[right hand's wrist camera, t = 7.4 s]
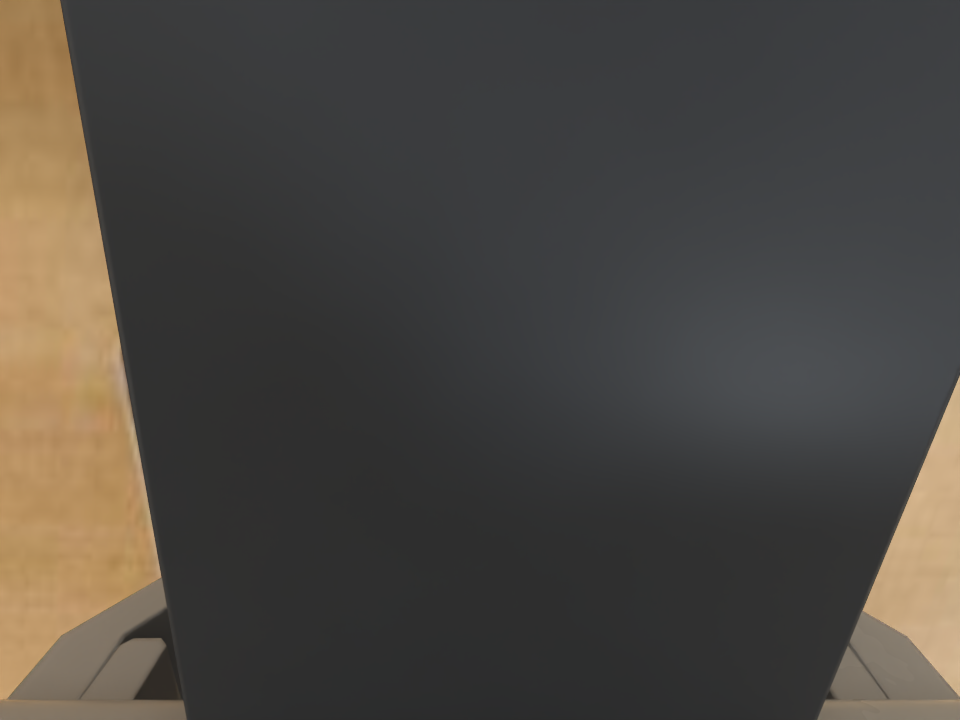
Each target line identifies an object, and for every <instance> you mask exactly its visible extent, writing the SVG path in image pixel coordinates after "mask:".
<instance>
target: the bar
mask: <svg viewBox="0 0 960 720" xmlns="http://www.w3.org/2000/svg"><path fill="white" fill-rule="evenodd" d="M60 1H61V7H62V12H63V18H64V24H65V30H66V35H67V41H68V47H69V52H70V58H71V64H72V69H73V75H74V81H75V87H76V92H77V98H78V104H79V109H80V115H81V121H82V126H83V132H84V138H85V143H86V149H87V155H88V161H89V166H90V172H91V178H92V183H93V189H94V195H95V200H96V206H97V212H98V218H99V223H100V229H101V235H102V240H103V246H104V252H105V257H106V263H107V269H108V274H109V280H110V286H111V292H112V297H113V303H114V309H115V314H116V320H117V326H118V331H119V337H120V343H121V348H122V354H123V360H124V366H125V371H126V377H127V383H128V388H129V394H130V400H131V405H132V411H133V417H134V423H135V428H136V434H137V440H138V445H139V451H140V457H141V462H142V468H143V474H144V479H145V485H146V491H147V497H148V502H149V508H150V514H151V519H152V525H153V531H154V536H155V542H156V548H157V554H158V559H159V565H160V571H161V576H162V582H163V588H164V593H165V599H166V605H167V610H168V616H169V622H170V628H171V633H172V639H173V645H174V650H175V656H176V662H177V667H178V673H179V679H180V684H181V690H182V696H183V702H184V707H185V713H186V719H187V720H817V719H818V716H819V714H820V712H821V709H822V707H823V704H824V702H825V700H826V697H827V695H828V692H829V690H830V687H831V685H832V683H833V680H834V678H835V675H836V673H837V671H838V668H839V666H840V663H841V661H842V658H843V656H844V654H845V651H846V649H847V646H848V644H849V642H850V639H851V637H852V634H853V632H854V629H855V627H856V625H857V622H858V620H859V617H860V615H861V613H862V610H863V608H864V605H865V603H866V600H867V598H868V596H869V593H870V591H871V588H872V586H873V584H874V581H875V579H876V576H877V574H878V571H879V569H880V567H881V564H882V562H883V559H884V557H885V555H886V552H887V550H888V547H889V545H890V542H891V540H892V538H893V535H894V533H895V530H896V528H897V526H898V523H899V521H900V518H901V516H902V513H903V511H904V509H905V506H906V504H907V501H908V499H909V497H910V494H911V492H912V489H913V487H914V485H915V482H916V480H917V477H918V475H919V472H920V470H921V468H922V465H923V463H924V460H925V458H926V456H927V453H928V451H929V448H930V446H931V443H932V441H933V439H934V436H935V434H936V431H937V429H938V427H939V424H940V422H941V419H942V417H943V414H944V412H945V410H946V407H947V405H948V402H949V400H950V398H951V395H952V393H953V390H954V388H955V385H956V383H957V381H958V378H959V376H960V0H60Z"/></svg>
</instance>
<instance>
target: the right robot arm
mask: <svg viewBox="0 0 960 720" xmlns="http://www.w3.org/2000/svg"><path fill="white" fill-rule="evenodd" d="M0 720H187V719H186V713H185V707H184V702H183V696H182V690H181V684H180V679H179V673H178V667H177V662H176V656H175V650H174V645H173V639H172V633H171V628H170V622H169V616H168V610H167V605H166V599H165V593H164V588H163V582H162V578H160V579H158V580H156V581H155V582H153V583H151V584H149V585H148V586H146V587H144V588H143V589H141V590H139V591H137V592H136V593H134V594H132V595H131V596H129V597H127V598H125V599H124V600H122V601H120V602H118V603H117V604H115V605H113V606H112V607H110V608H108V609H106V610H105V611H103V612H101V613H100V614H98V615H96V616H94V617H93V618H91V619H89V620H87V621H86V622H84V623H82V624H81V625H79V626H77V627H75V628H74V629H72V630H70V631H69V632H67V633H65V634H63V635H62V636H61V637H60V638H59V639H58V640H57V641H56V643H55V644H54V645H53V646H52V647H51V648H50V650H49V651H48V652H47V653H46V654H45V655H44V657H43V658H42V659H41V660H40V661H39V662H38V664H37V665H36V666H35V667H34V668H33V669H32V671H31V672H30V673H29V674H28V675H27V676H26V678H25V679H24V680H23V681H22V682H21V683H20V685H19V686H18V687H17V688H16V689H15V690H14V692H13V693H12V694H11V695H10V696H9V697H8V699H7V700H0ZM817 720H960V697H959V696H958V695H957V694H956V692H955V691H954V690H953V689H952V688H951V687H950V685H949V684H948V683H947V682H946V681H945V680H944V679H943V677H942V676H941V675H940V674H939V673H938V672H937V670H936V669H935V668H934V667H933V666H932V665H931V664H930V662H929V661H928V660H927V659H926V658H925V657H924V655H923V654H922V653H921V652H920V651H919V650H918V649H917V647H916V646H915V645H914V644H913V643H912V642H911V640H910V639H909V638H908V637H907V636H905V635H904V634H902V633H900V632H898V631H897V630H895V629H893V628H891V627H890V626H888V625H886V624H884V623H883V622H881V621H879V620H878V619H876V618H874V617H872V616H871V615H869V614H867V613H865V612H864V611H862V613H861V615H860V617H859V620H858V622H857V625H856V627H855V629H854V632H853V634H852V637H851V639H850V642H849V644H848V646H847V649H846V651H845V654H844V656H843V658H842V661H841V663H840V666H839V668H838V671H837V673H836V675H835V678H834V680H833V683H832V685H831V687H830V690H829V692H828V695H827V697H826V700H825V702H824V704H823V707H822V709H821V712H820V714H819V716H818V719H817Z"/></svg>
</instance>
